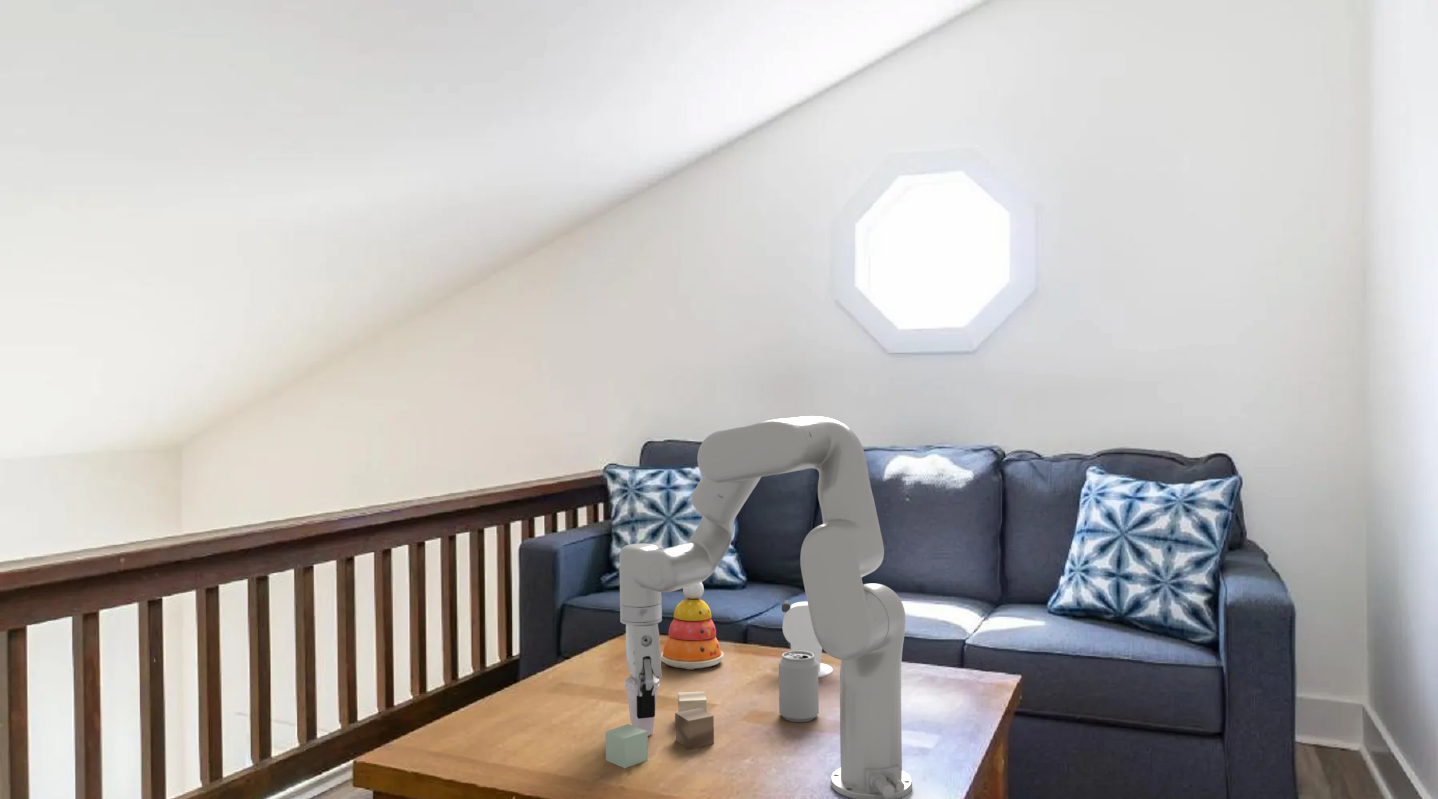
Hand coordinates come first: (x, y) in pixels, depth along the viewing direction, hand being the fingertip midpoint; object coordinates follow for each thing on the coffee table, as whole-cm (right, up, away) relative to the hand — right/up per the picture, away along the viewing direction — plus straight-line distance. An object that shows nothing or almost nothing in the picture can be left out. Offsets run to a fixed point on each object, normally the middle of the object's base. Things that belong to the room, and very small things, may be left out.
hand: (642, 710), depth 184 cm
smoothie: (0, -4, 0) cm, 4 cm away
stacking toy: (+8, -3, +45) cm, 45 cm away
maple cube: (+9, -4, +6) cm, 11 cm away
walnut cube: (+10, -4, -5) cm, 11 cm away
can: (+29, -4, +8) cm, 30 cm away
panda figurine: (+33, -3, +38) cm, 51 cm away
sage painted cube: (-2, -5, -13) cm, 14 cm away
